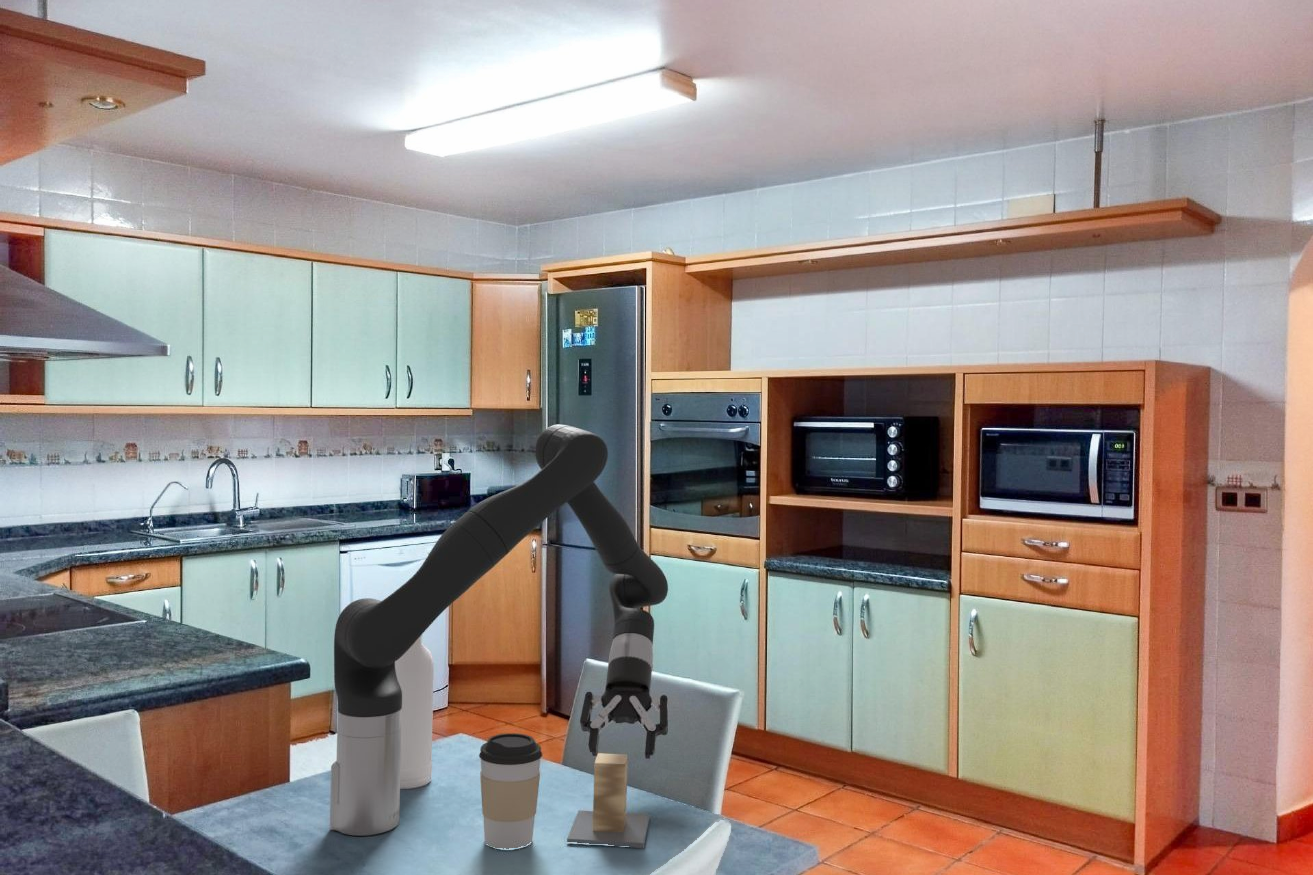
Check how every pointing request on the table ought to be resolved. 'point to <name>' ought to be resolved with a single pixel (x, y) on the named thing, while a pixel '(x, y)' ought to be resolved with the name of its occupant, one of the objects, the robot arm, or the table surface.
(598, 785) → the oak block
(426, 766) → the bottle
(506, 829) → the coffee cup
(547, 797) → the table surface
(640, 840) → the slate coaster
